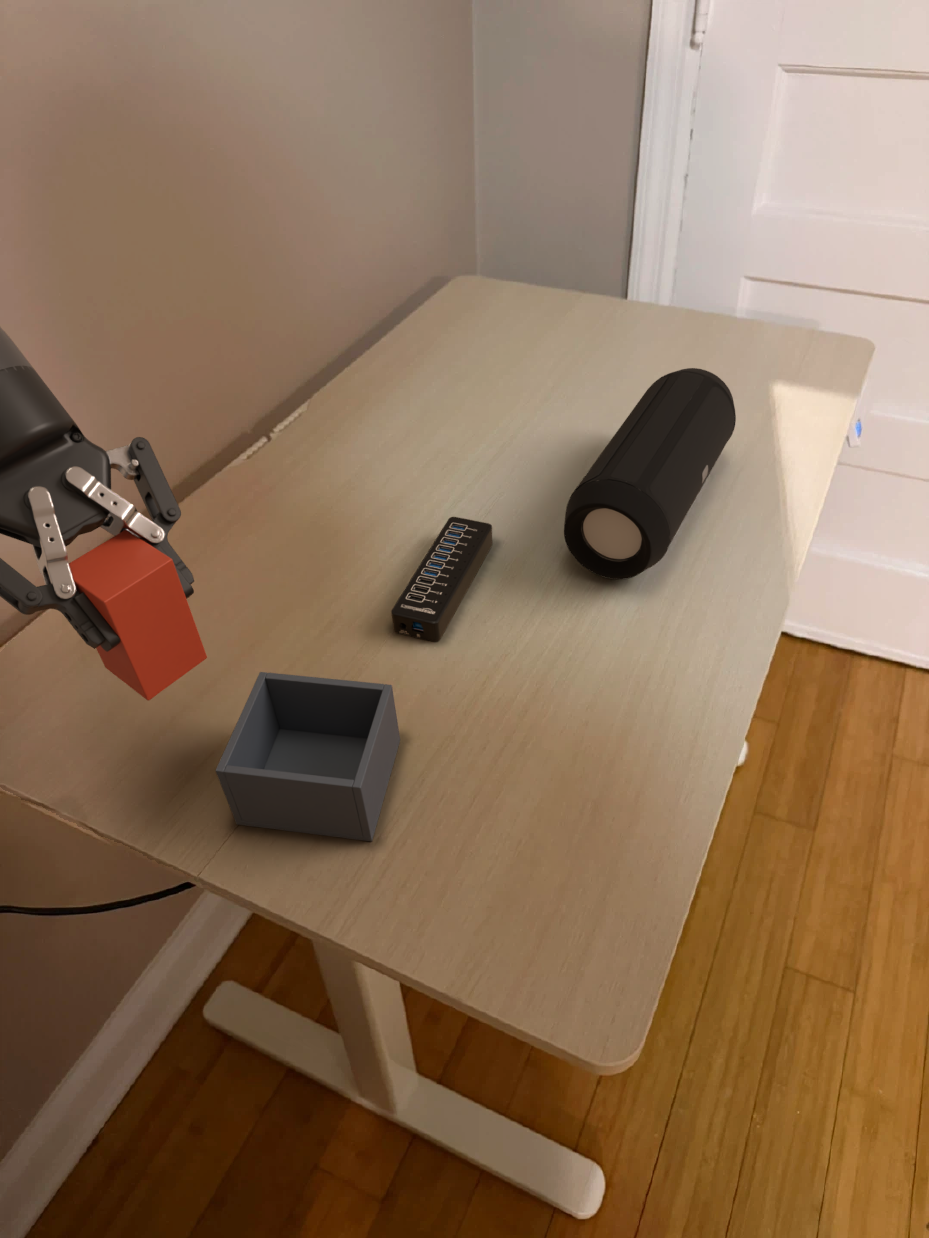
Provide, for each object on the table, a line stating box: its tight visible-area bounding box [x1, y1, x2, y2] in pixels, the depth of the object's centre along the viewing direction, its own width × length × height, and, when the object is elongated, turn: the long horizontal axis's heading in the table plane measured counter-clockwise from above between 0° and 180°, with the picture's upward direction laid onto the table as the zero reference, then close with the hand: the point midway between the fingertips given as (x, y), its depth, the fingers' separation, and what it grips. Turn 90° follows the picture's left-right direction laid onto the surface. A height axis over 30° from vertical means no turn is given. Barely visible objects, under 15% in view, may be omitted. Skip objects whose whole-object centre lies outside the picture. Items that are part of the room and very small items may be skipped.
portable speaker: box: [563, 367, 737, 580], centre depth 86 cm, size 26×10×10 cm, turn 152°
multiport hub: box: [390, 516, 493, 643], centre depth 82 cm, size 4×14×2 cm, turn 159°
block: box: [68, 530, 208, 701], centre depth 58 cm, size 5×5×9 cm
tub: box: [215, 671, 401, 842], centre depth 65 cm, size 10×9×6 cm
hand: (151, 620), depth 57 cm, fingers closed on block, 5 cm apart
